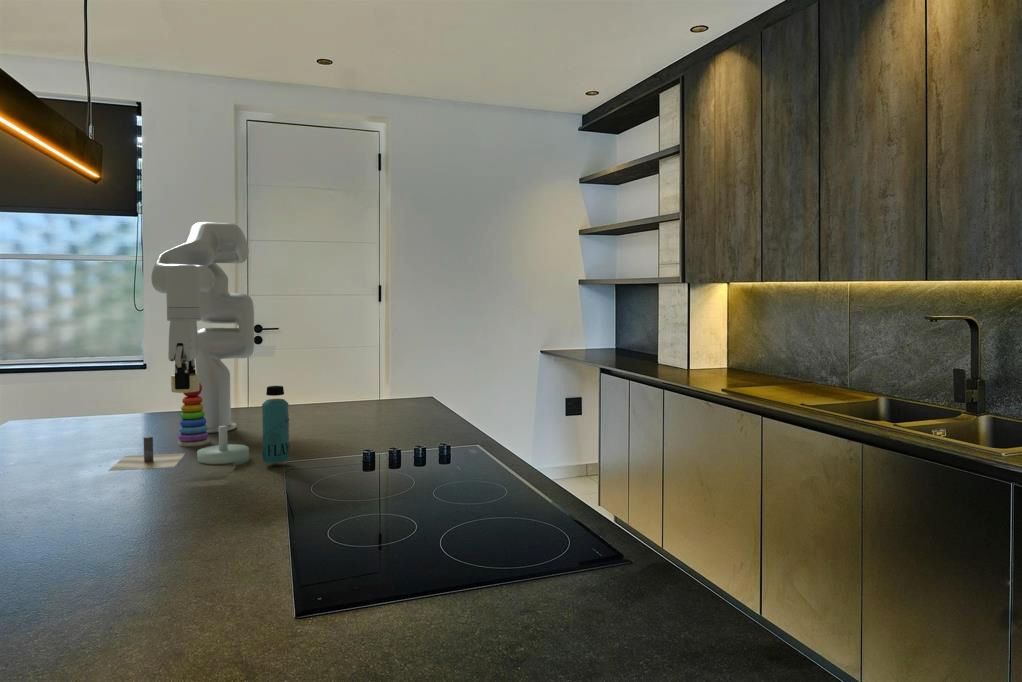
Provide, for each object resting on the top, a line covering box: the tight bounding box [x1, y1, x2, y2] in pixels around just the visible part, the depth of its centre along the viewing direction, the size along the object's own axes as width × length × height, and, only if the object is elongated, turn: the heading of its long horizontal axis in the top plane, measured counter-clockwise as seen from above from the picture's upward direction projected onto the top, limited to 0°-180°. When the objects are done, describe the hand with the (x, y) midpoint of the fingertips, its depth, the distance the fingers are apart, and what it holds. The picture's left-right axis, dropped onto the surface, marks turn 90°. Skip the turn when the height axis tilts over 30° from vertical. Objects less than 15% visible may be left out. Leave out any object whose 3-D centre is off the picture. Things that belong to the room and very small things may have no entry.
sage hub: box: [196, 426, 250, 467], centre depth 166 cm, size 12×12×9 cm
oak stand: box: [107, 436, 186, 472], centre depth 161 cm, size 14×14×7 cm
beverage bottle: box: [261, 385, 290, 464], centre depth 162 cm, size 6×7×20 cm
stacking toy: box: [177, 382, 210, 447], centre depth 181 cm, size 8×8×19 cm
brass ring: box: [170, 373, 199, 394], centre depth 162 cm, size 6×6×4 cm
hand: (185, 386), depth 162 cm, fingers closed on brass ring, 6 cm apart
